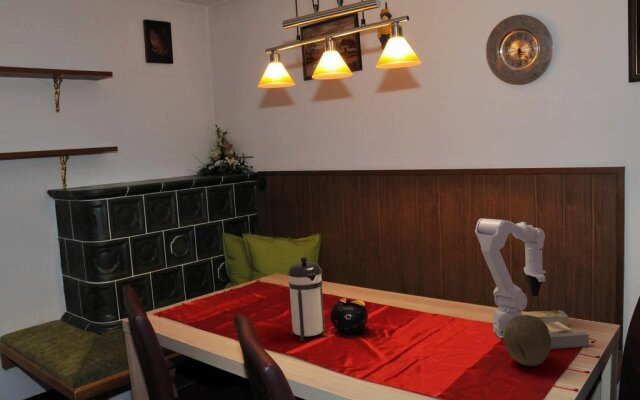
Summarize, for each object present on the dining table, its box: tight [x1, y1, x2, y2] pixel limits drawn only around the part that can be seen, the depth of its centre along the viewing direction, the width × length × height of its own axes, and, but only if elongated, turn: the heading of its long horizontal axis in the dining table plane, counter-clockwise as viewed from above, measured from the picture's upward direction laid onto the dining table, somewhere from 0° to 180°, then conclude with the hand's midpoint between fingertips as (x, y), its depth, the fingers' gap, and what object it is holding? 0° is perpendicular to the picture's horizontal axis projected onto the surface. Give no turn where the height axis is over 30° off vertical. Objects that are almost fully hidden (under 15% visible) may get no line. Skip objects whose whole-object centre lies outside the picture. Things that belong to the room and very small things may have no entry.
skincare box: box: [528, 310, 569, 328], centre depth 201 cm, size 6×4×12 cm
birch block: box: [545, 322, 573, 334], centre depth 187 cm, size 7×8×5 cm
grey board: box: [550, 331, 590, 350], centre depth 181 cm, size 20×2×4 cm, turn 91°
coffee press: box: [287, 256, 329, 343], centre depth 206 cm, size 17×16×30 cm
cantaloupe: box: [503, 314, 552, 367], centre depth 169 cm, size 14×14×15 cm
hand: (534, 295), depth 203 cm, fingers closed
